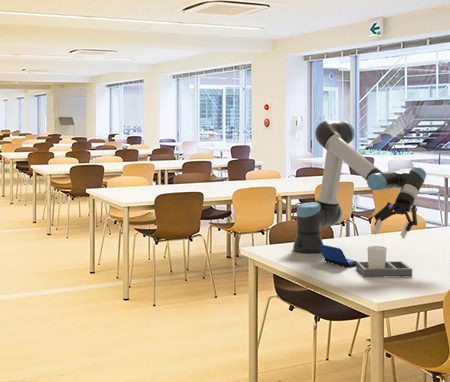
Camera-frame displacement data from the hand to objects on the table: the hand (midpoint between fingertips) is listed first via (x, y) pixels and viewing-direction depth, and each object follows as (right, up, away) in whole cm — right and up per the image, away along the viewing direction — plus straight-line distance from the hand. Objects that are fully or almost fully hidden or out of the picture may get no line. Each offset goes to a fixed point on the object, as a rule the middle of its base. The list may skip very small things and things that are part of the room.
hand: (388, 234), depth 287 cm
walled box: (-3, -16, -5) cm, 17 cm away
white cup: (-6, -15, -5) cm, 17 cm away
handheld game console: (-19, -15, +12) cm, 27 cm away
